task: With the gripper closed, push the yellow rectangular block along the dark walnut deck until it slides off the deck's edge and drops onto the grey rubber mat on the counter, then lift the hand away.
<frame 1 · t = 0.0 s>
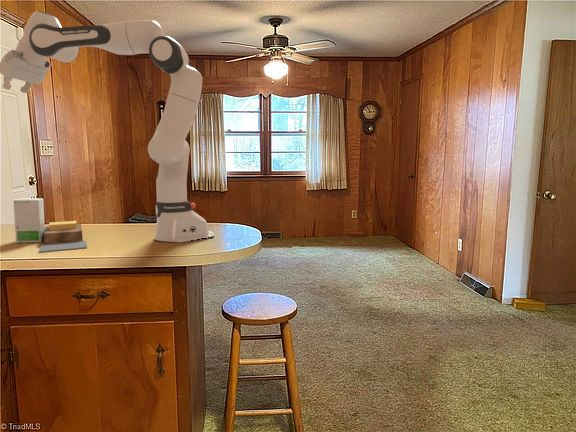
hand: (14, 90, 149), 54 cm above the worktop, tool tilted 30°, fingers open, 8 cm apart
yellow rectangular block: (63, 228, 154), point 4 cm above the worktop, touching deck
mat: (64, 246, 142), on the worktop
deck: (64, 239, 154), on the worktop
skincare box: (31, 241, 151), on the worktop
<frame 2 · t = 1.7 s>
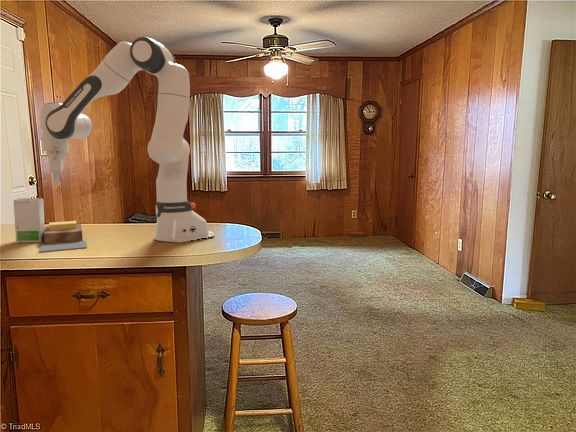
hand: (57, 183, 158), 20 cm above the worktop, tool pointing down, fingers open, 8 cm apart
nothing on the worktop moved.
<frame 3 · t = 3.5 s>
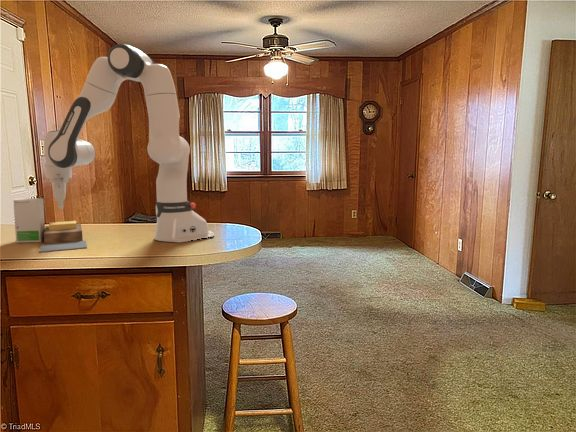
hand: (61, 209, 160), 10 cm above the worktop, tool pointing down, fingers closed
nothing on the worktop moved.
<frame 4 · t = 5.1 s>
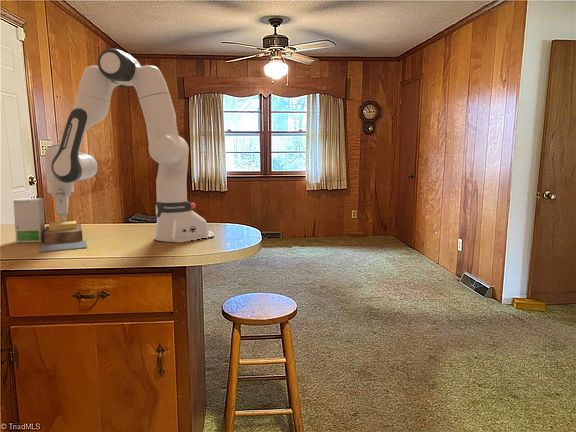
hand: (63, 223, 158), 5 cm above the worktop, tool pointing down, fingers closed
yellow rectangular block: (63, 228, 154), point 4 cm above the worktop, touching deck, gripper
everything else where it was.
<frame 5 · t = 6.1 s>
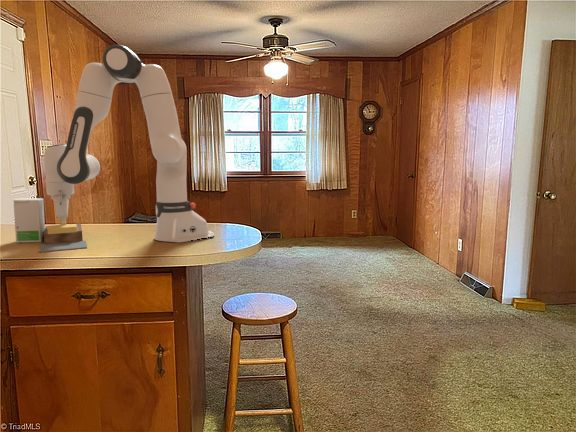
hand: (63, 226, 152), 5 cm above the worktop, tool pointing down, fingers closed
yellow rectangular block: (62, 231, 148), point 4 cm above the worktop, touching gripper
everything else where it was.
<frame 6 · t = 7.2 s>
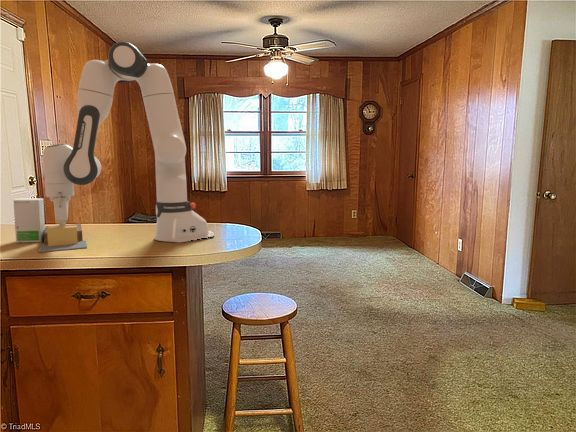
hand: (63, 230, 145), 5 cm above the worktop, tool pointing down, fingers closed
yellow rectangular block: (62, 235, 144), point 3 cm above the worktop, tilted 90°, touching gripper, mat
everything else where it was.
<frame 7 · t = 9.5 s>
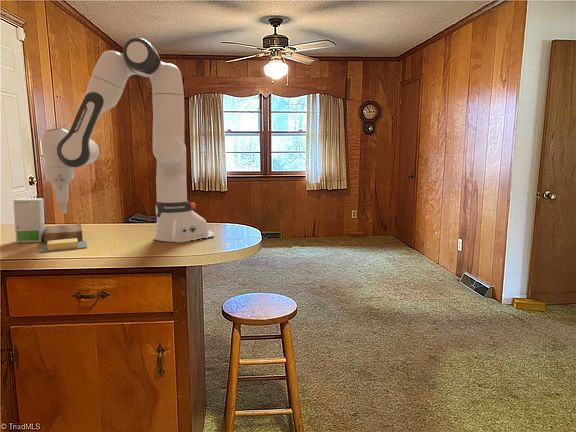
hand: (64, 212, 150), 10 cm above the worktop, tool pointing down, fingers closed
yellow rectangular block: (62, 241, 140), point 2 cm above the worktop, tilted 180°, touching mat
everything else where it was.
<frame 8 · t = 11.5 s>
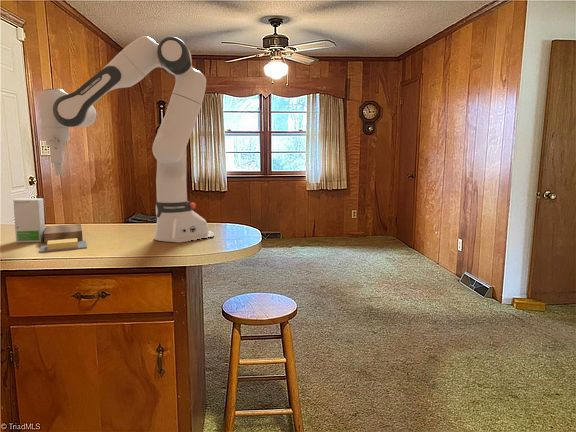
hand: (58, 175, 148), 24 cm above the worktop, tool pointing down, fingers closed
nothing on the worktop moved.
at the end: yellow rectangular block point 2.4 cm above the worktop; yellow rectangular block inside the target area on the mat (1.7 cm from its centre), point 2.4 cm above the mat's base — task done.
